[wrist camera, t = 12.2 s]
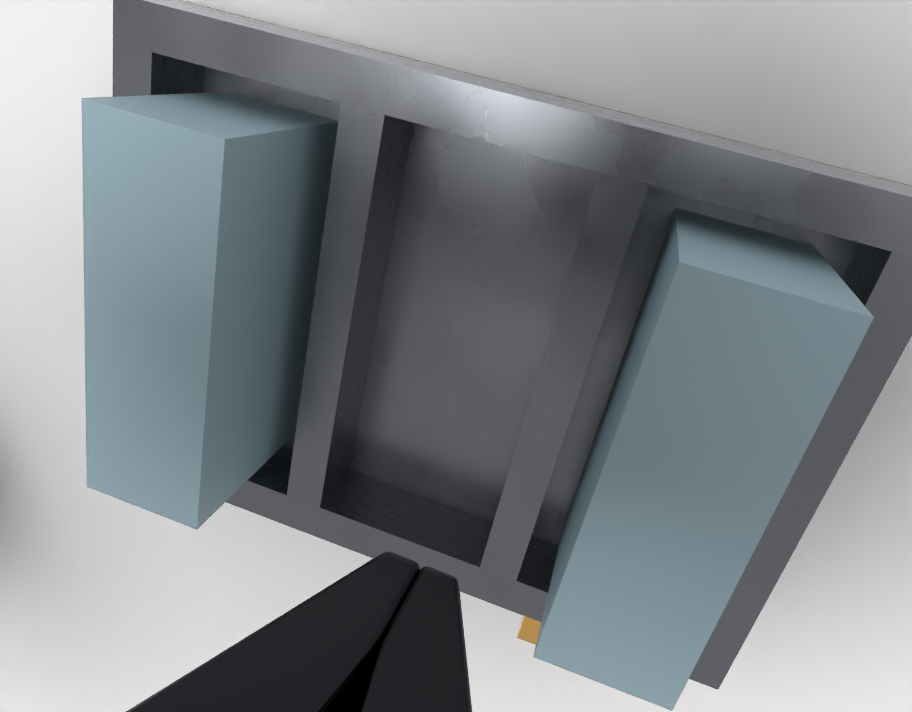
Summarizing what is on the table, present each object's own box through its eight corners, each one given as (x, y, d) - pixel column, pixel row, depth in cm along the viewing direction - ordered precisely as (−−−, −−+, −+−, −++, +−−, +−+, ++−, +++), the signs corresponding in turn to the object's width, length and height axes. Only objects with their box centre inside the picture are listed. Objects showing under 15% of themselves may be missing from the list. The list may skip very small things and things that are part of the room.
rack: (718, 633, 21) (725, 718, 18) (161, 428, 24) (96, 474, 21) (947, 194, 15) (1008, 221, 12) (179, 0, 18) (93, -13, 15)
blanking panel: (670, 560, 19) (671, 710, 14) (564, 522, 19) (533, 656, 15) (813, 244, 15) (874, 317, 11) (675, 207, 16) (679, 262, 11)
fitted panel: (297, 431, 21) (196, 529, 16) (208, 399, 21) (87, 486, 17) (341, 121, 17) (225, 139, 13) (231, 91, 17) (81, 98, 13)
